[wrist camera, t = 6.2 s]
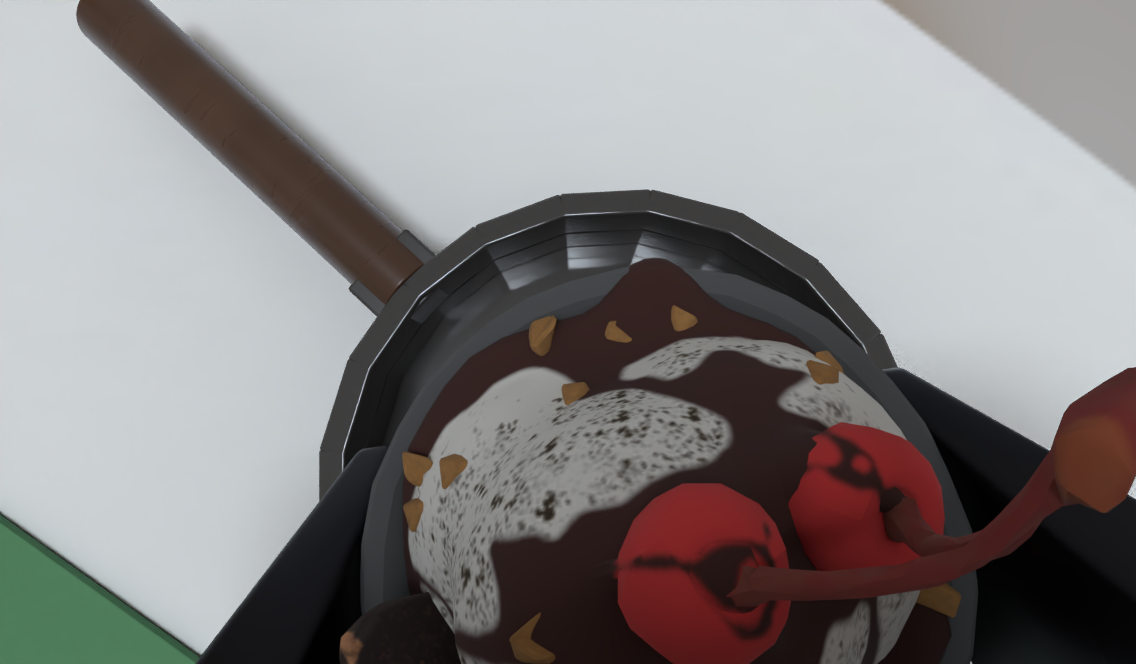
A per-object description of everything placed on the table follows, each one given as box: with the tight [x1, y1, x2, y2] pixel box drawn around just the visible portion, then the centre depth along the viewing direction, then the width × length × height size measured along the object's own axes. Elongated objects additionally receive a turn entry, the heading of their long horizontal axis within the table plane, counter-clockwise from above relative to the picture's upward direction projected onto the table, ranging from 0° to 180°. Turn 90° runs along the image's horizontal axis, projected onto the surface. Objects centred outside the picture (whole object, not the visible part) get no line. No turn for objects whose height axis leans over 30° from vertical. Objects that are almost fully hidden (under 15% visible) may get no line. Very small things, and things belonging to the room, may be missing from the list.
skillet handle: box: [76, 0, 448, 324], centre depth 16 cm, size 12×2×2 cm, turn 48°
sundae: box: [339, 257, 1136, 664], centre depth 9 cm, size 7×7×15 cm
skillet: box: [319, 190, 898, 502], centre depth 16 cm, size 14×14×3 cm
